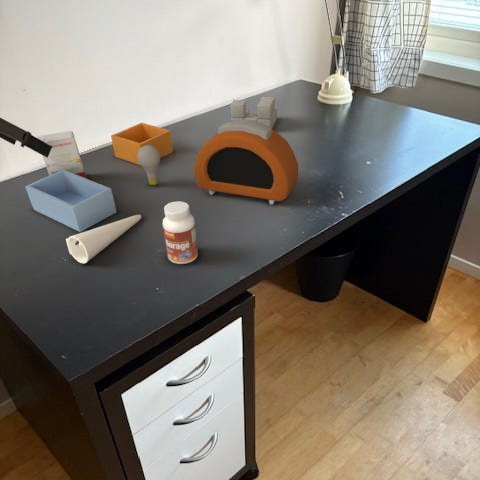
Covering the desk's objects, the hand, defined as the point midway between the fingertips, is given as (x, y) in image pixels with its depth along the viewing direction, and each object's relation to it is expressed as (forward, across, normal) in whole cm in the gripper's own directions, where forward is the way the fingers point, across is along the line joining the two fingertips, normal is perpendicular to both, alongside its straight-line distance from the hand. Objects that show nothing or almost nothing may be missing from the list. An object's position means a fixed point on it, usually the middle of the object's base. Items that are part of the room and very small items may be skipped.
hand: (32, 145), depth 112 cm
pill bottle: (+8, +48, -9) cm, 49 cm away
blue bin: (+7, +14, -10) cm, 18 cm away
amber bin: (+29, +4, +13) cm, 32 cm away
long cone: (+5, +32, -12) cm, 34 cm away
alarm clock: (+28, +42, +11) cm, 52 cm away
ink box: (+13, 0, -4) cm, 14 cm away
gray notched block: (+54, +16, +37) cm, 68 cm away
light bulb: (+21, +20, +4) cm, 29 cm away
